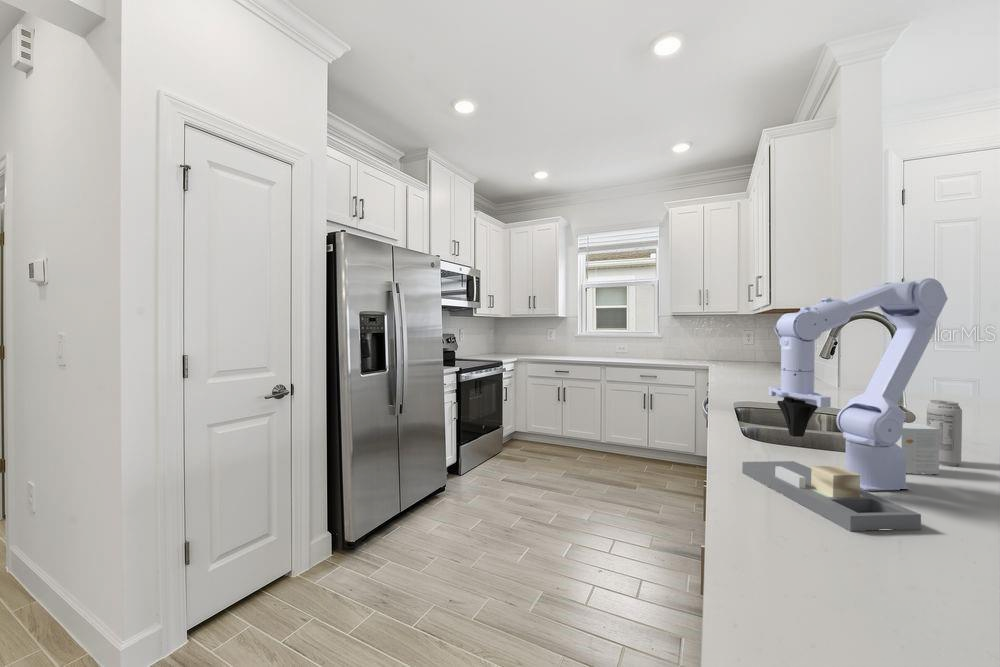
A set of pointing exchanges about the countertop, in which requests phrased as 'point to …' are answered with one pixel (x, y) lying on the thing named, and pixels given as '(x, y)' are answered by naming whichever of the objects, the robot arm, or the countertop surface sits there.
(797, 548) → the countertop surface
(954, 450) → the energy drink can
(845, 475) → the block
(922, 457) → the small box
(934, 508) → the countertop surface
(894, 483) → the robot arm
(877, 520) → the grey long flat tray
